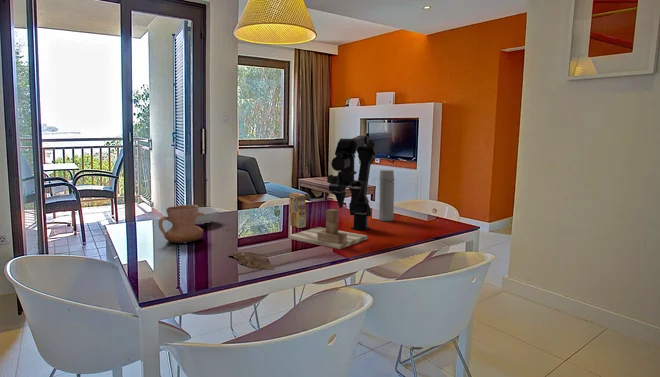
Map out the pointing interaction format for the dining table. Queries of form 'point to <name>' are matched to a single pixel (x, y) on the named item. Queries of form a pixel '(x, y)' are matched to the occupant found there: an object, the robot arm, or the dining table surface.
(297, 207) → the candy box
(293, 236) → the birch board
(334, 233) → the block
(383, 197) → the water bottle
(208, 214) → the serving bowl
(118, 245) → the dining table surface
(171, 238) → the ceramic jug
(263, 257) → the wooden fragment
